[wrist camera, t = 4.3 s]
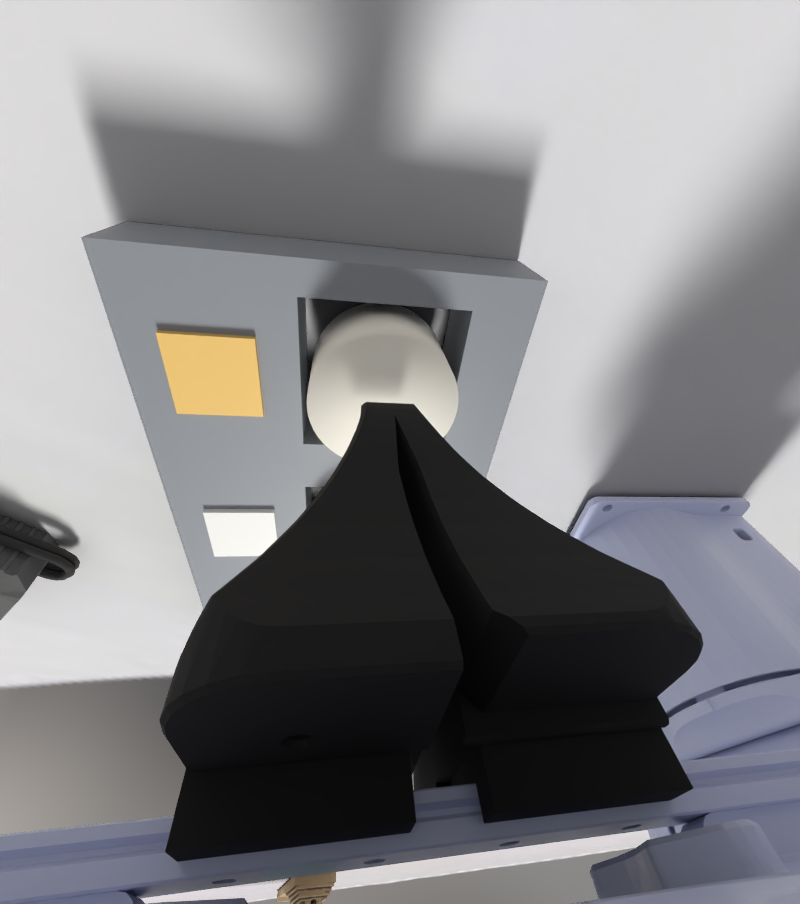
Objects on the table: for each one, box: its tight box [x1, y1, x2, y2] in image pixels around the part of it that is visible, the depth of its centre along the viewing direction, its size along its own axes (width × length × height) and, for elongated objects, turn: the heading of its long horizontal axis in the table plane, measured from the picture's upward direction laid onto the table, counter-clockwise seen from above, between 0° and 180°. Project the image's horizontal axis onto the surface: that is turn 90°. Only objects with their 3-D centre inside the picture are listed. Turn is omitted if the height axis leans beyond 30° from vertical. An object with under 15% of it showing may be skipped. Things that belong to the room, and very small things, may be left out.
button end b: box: [307, 303, 458, 457], centre depth 13 cm, size 4×4×3 cm
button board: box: [81, 221, 548, 609], centre depth 18 cm, size 12×21×3 cm, turn 173°
